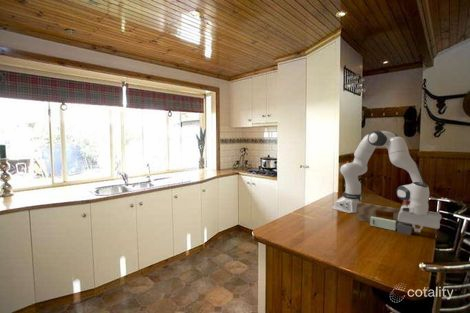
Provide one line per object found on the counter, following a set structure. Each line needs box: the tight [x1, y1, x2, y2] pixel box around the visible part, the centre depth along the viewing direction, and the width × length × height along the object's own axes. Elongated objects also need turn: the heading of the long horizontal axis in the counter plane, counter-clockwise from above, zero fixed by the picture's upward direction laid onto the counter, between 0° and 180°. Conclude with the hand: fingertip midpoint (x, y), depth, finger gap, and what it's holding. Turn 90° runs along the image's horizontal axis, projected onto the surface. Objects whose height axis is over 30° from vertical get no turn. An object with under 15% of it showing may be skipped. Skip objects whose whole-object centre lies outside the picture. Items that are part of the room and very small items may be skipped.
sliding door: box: [369, 216, 397, 231], centre depth 155 cm, size 14×4×6 cm, turn 49°
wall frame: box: [355, 202, 412, 229], centre depth 160 cm, size 32×2×12 cm, turn 49°
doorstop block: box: [396, 222, 413, 236], centre depth 147 cm, size 7×5×5 cm
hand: (417, 231), depth 143 cm, fingers closed
